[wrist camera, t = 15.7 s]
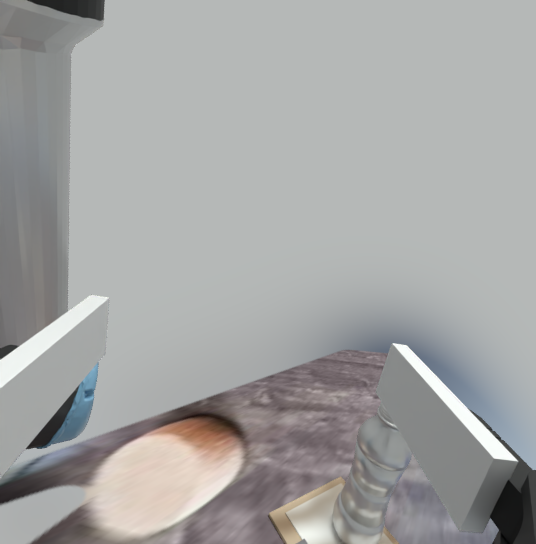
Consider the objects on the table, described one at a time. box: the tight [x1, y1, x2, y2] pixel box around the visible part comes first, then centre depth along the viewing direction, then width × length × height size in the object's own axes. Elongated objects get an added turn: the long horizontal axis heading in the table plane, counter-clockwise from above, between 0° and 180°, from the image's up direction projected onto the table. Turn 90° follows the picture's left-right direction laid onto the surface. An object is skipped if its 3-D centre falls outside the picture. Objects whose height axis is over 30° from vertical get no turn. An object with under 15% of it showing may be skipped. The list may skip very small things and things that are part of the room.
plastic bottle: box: [333, 402, 412, 544], centre depth 40 cm, size 6×7×20 cm
